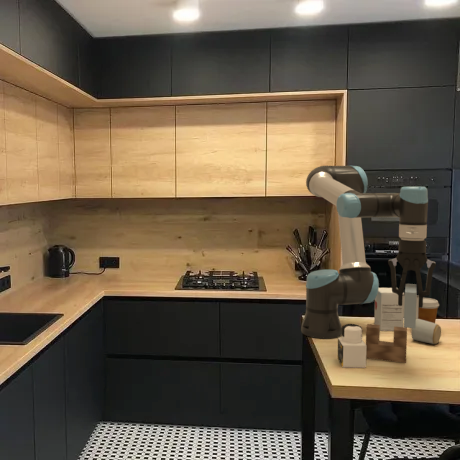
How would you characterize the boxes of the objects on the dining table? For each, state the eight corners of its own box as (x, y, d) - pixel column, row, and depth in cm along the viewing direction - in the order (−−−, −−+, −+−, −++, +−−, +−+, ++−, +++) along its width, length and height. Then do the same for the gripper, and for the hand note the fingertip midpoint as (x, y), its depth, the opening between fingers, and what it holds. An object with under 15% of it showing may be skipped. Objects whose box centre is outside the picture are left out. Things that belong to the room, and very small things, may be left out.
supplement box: (373, 324, 180) (374, 287, 179) (396, 324, 179) (397, 287, 178) (379, 331, 171) (380, 292, 170) (403, 331, 170) (404, 292, 169)
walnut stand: (365, 357, 143) (366, 327, 142) (366, 353, 147) (367, 323, 146) (406, 363, 138) (406, 331, 138) (406, 358, 142) (407, 327, 141)
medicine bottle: (337, 359, 142) (338, 322, 141) (360, 359, 142) (360, 322, 141) (342, 367, 135) (343, 328, 134) (366, 368, 135) (367, 329, 134)
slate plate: (403, 327, 125) (404, 292, 124) (404, 316, 136) (405, 283, 135) (415, 328, 124) (416, 293, 123) (415, 317, 135) (416, 284, 134)
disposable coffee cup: (405, 328, 174) (406, 298, 173) (427, 326, 176) (428, 296, 175) (421, 336, 165) (422, 303, 164) (444, 334, 167) (445, 302, 166)
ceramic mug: (434, 347, 153) (435, 325, 152) (410, 341, 158) (411, 320, 158) (444, 340, 160) (445, 319, 160) (421, 335, 166) (422, 315, 165)
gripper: (382, 239, 132) (380, 317, 134) (443, 241, 126) (440, 323, 128) (384, 236, 139) (382, 311, 141) (441, 238, 133) (438, 316, 135)
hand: (409, 316), depth 134 cm, fingers closed on slate plate, 3 cm apart
